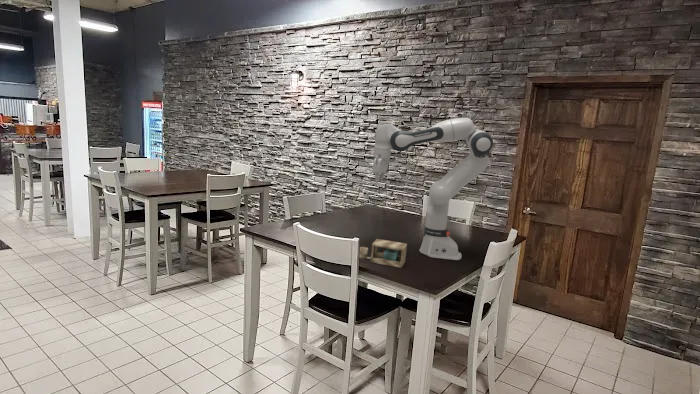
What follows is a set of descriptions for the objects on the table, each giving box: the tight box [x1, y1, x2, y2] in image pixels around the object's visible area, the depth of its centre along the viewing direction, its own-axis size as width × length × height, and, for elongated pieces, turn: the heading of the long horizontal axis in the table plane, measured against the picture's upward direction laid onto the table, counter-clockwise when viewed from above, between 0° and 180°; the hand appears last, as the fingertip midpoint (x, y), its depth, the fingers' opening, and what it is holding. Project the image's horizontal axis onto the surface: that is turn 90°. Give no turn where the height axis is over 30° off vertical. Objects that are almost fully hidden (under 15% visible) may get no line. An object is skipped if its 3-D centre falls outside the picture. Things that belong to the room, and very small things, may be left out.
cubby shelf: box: [370, 238, 408, 269], centre depth 194 cm, size 16×10×9 cm, turn 73°
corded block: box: [358, 246, 400, 262], centre depth 196 cm, size 19×6×6 cm, turn 73°
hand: (379, 180), depth 208 cm, fingers open, 8 cm apart
